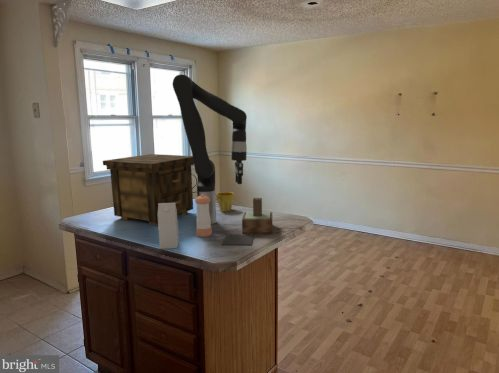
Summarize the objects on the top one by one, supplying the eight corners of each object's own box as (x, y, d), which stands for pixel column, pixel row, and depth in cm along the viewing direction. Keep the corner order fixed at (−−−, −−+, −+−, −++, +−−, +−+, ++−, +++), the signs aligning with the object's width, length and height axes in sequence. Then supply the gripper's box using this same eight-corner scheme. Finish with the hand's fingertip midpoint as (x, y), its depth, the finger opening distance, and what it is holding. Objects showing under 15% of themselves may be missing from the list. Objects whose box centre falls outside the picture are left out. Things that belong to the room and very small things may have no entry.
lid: (244, 220, 173) (243, 201, 171) (246, 214, 184) (246, 196, 183) (269, 220, 172) (269, 201, 170) (270, 214, 183) (270, 196, 182)
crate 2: (242, 233, 173) (242, 219, 172) (244, 224, 187) (244, 212, 185) (272, 233, 172) (272, 219, 171) (272, 225, 186) (272, 212, 184)
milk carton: (162, 243, 162) (159, 201, 158) (178, 242, 162) (176, 200, 159) (159, 249, 155) (156, 205, 151) (176, 248, 155) (174, 204, 152)
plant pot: (232, 212, 211) (231, 195, 209) (214, 211, 213) (214, 195, 211) (236, 208, 221) (235, 192, 219) (219, 207, 223) (219, 191, 221)
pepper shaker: (195, 232, 176) (193, 193, 172) (210, 231, 178) (208, 192, 174) (197, 237, 169) (195, 196, 165) (213, 235, 171) (211, 195, 167)
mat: (221, 245, 158) (221, 244, 158) (225, 235, 171) (225, 234, 171) (251, 245, 157) (251, 244, 157) (253, 235, 170) (253, 234, 170)
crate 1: (154, 206, 230) (150, 154, 223) (199, 212, 213) (196, 156, 206) (108, 220, 200) (102, 160, 194) (156, 229, 183) (151, 164, 177)
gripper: (230, 150, 190) (229, 181, 192) (233, 151, 176) (232, 184, 178) (244, 150, 191) (244, 181, 193) (248, 151, 177) (247, 184, 179)
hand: (238, 183), depth 185 cm, fingers open, 8 cm apart
